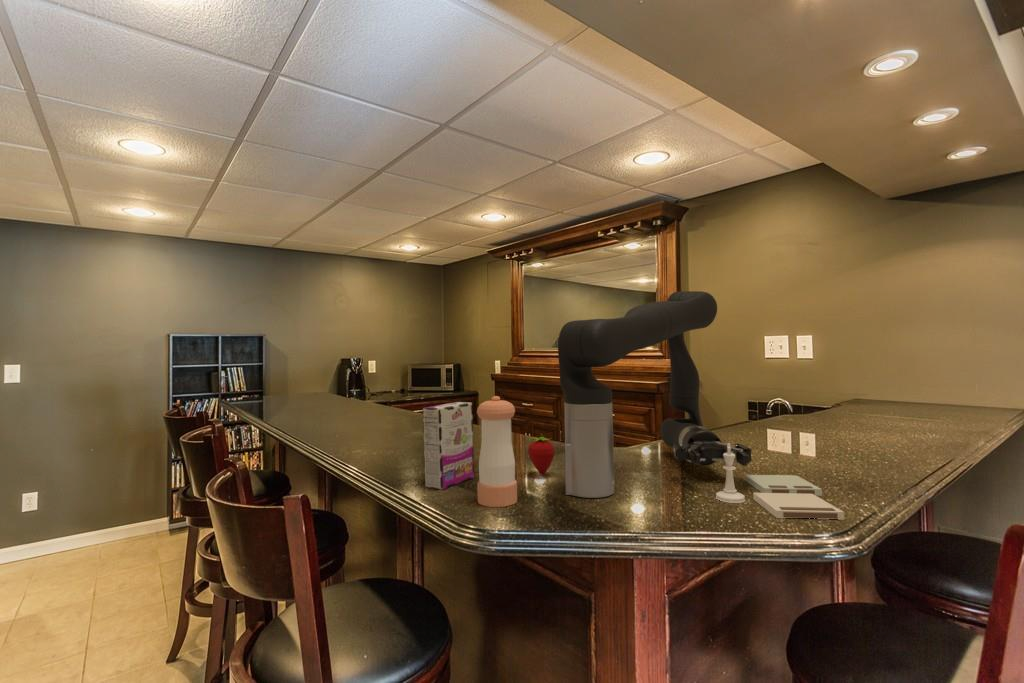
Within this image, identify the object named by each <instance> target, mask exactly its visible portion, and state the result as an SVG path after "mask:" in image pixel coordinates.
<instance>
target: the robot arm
mask: <svg viewBox="0 0 1024 683" xmlns="http://www.w3.org/2000/svg"><path fill="white" fill-rule="evenodd" d="M717 314H718V304H717V300H716V299H715V297H714V296H713V295H712V294H710V293H709V292H705V291H702V290H701V291H697V290H696V291H693V290H692V291H691V290H690V291H674V292H672V293H671V294H670V295H669V296H668V298H667V300H665V301H661V300H660V301H654V302H653V301H652V302H647V303H644V304H640V305H636V306H635V307H632V308H630V309H629V310H628V311H626V313H625V314H624V316H621V317H615V318H591V319H579V320H578V319H577V320H572V321H571V320H570V321H568V322H566V323H565V324H563V326H561V329H560V330H559V331H560V332H559V334H558V339H557V340H558V341H557V354H558V355H557V358H558V368H559V370H558V371H559V383H560V387H561V388H560V389H561V390H562V393H563V398H564V399H563V401H564V403H563V404H564V466H565V468H564V469H565V470H564V471H565V473H564V474H565V476H564V477H565V495H566V496H573V497H574V496H575V497H578V498H579V497H580V498H589V499H590V498H591V499H592V498H593V499H594V498H595V499H598V498H605V497H609V496H611V495H613V494H614V493H615V469H614V468H615V467H614V461H615V460H614V424H613V422H614V418H613V391H612V388H611V387H610V386H608V385H606V384H605V383H602V382H601V381H599V380H598V379H597V378H596V377H595V375H594V374H593V369H592V368H603V367H608V366H610V365H613V364H614V363H616V362H618V361H620V360H621V359H623V358H624V357H626V356H627V355H629V354H631V353H633V352H634V351H639V350H643V349H645V348H648V347H652V346H654V345H657V344H660V343H662V342H665V341H666V340H667V345H668V353H669V362H670V363H669V364H670V366H669V367H670V385H669V406H670V407H671V408H672V409H674V410H678V411H682V412H686V413H687V414H688V415H687V416H688V418H682V417H681V418H677V417H668V418H666V419H664V420H663V421H662V423H661V425H660V430H659V434H660V436H661V441H663V443H664V444H665V445H666V446H668V447H671V448H673V456H674V457H675V459H676V461H678V462H684V460H687V462H689V463H692V464H694V465H695V466H710V465H714V464H715V463H717V462H724V463H726V462H725V459H724V456H723V454H724V453H728V449H727V443H723V442H722V440H721V439H720V437H719V436H718V435H717V434H716V433H714V432H713V431H710V430H709V429H708V428H706V427H704V425H703V422H702V417H701V413H700V406H699V401H700V400H699V399H700V375H699V371H698V368H697V367H696V364H695V363H694V360H693V358H692V357H691V355H690V353H689V350H688V348H687V345H686V340H685V336H684V335H685V334H684V333H686V332H689V331H695V330H699V329H700V330H701V329H705V328H708V327H710V325H712V324H713V323H714V320H715V319H716V317H717ZM730 448H731V450H730V453H733V454H735V458H734V461H733V462H736V463H737V464H740V465H741V466H743V467H745V466H748V464H750V463H751V462H752V460H753V458H752V448H749V447H748V446H746V445H743V444H741V443H735V444H734V445H732V444H730Z"/></svg>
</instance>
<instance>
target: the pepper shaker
mask: <svg viewBox="0 0 1024 683" xmlns="http://www.w3.org/2000/svg"><path fill="white" fill-rule="evenodd" d="M515 413H516V408H515V405H514V404H513V403H511V402H509V401H507V400H501V397H500V396H498V395H494V396H492V397H491V400H485V401H483V402H482V403H480V404H479V406H478V407H477V409H476V414H477V416H478V418H480V420H481V444H480V452H479V458H478V472H479V473H478V475H479V476H478V477H479V480H478V481H477V484H476V485H477V486H476V488H477V489H476V490H477V495H476V496H477V503H478V504H479V505H481V506H484V507H490V508H500V507H502V508H503V507H508V506H512V505H515V504H516V503H517V502H518V480H516V477H515V476H516V459H515V454H514V449H513V442H512V418H513V417H515V416H514V415H515Z"/></svg>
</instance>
